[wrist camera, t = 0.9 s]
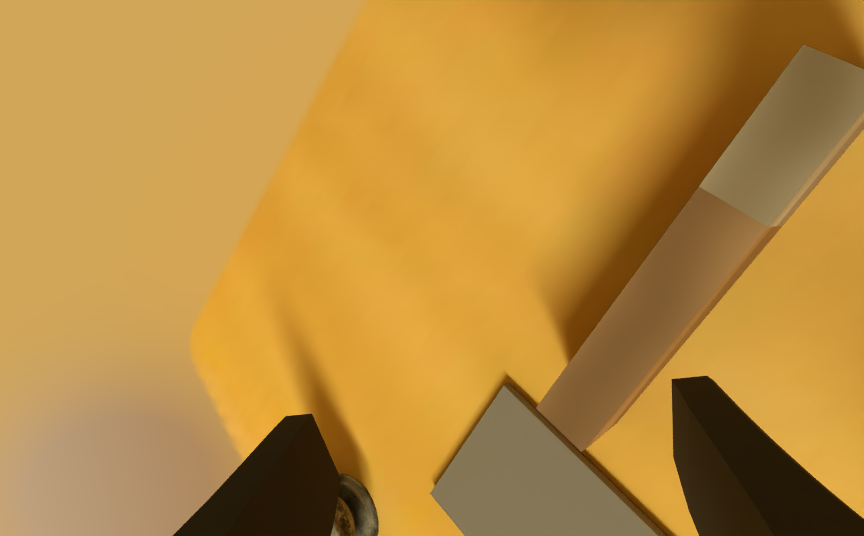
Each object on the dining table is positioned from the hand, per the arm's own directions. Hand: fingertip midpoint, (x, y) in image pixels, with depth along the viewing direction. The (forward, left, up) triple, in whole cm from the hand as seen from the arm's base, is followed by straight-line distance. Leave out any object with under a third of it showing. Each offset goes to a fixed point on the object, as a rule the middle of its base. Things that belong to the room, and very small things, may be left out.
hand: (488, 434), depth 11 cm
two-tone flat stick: (+1, -2, -15) cm, 15 cm away
